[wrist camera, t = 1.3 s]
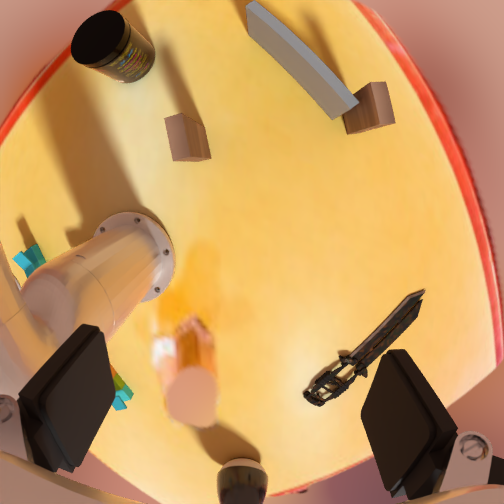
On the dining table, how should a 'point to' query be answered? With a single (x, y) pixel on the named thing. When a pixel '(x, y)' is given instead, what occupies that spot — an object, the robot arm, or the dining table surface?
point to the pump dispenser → (242, 482)
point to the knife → (368, 349)
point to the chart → (34, 260)
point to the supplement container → (112, 47)
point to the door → (299, 61)
